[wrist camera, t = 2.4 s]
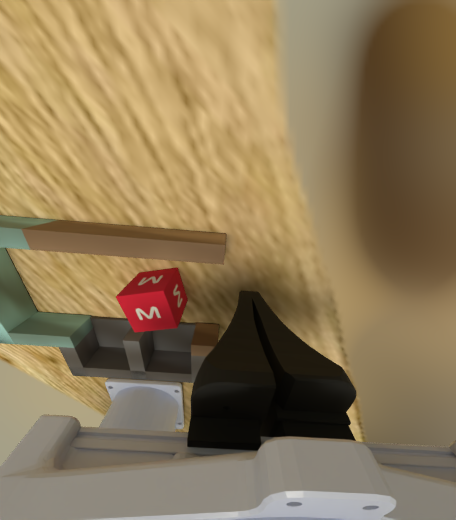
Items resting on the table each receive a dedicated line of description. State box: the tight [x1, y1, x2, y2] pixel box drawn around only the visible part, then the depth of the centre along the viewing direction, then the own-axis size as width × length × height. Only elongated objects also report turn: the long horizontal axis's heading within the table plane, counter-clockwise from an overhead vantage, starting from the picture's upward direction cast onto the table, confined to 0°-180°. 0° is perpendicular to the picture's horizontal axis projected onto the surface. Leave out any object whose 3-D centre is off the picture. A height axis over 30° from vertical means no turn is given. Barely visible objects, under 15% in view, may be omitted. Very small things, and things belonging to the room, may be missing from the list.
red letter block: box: [116, 268, 188, 332], centre depth 12 cm, size 3×3×3 cm
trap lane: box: [0, 215, 226, 383], centre depth 13 cm, size 13×17×2 cm
